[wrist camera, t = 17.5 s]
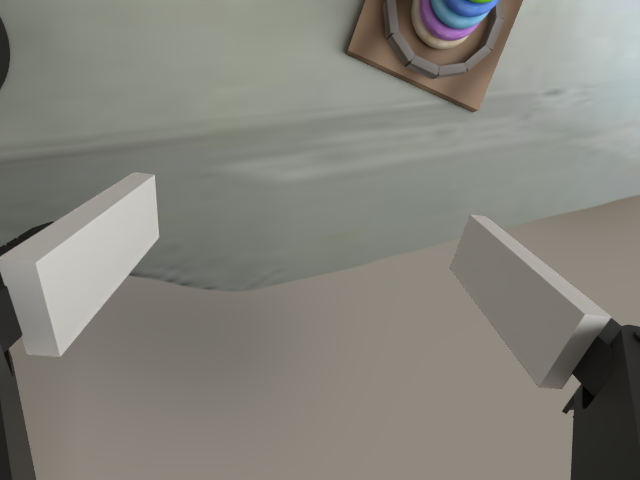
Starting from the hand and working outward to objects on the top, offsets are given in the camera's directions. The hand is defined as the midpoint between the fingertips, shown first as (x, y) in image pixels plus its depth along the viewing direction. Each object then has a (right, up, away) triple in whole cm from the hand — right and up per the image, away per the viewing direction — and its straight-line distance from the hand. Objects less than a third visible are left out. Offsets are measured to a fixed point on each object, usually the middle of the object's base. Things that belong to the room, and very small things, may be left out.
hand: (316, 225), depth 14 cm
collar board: (+14, +26, +27) cm, 40 cm away
